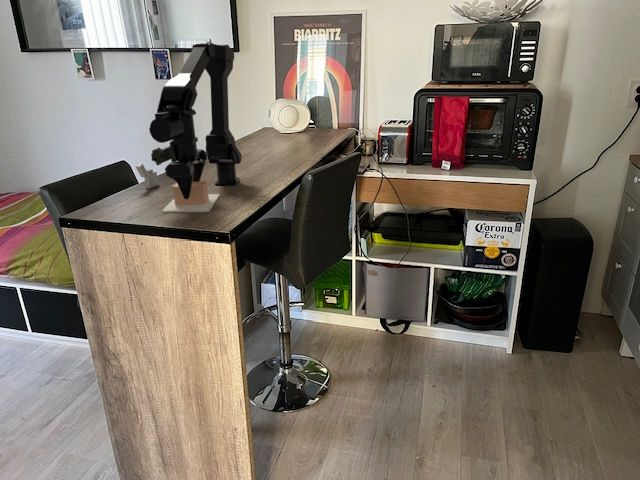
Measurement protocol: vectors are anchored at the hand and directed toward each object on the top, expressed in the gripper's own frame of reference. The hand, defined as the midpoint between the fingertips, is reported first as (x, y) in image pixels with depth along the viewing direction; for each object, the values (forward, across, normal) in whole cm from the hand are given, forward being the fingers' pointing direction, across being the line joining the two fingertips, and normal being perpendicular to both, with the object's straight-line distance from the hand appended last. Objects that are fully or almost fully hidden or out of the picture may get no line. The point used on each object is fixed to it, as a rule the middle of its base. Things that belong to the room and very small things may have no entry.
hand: (191, 193), depth 134 cm
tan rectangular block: (+2, 0, 0) cm, 2 cm away
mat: (+3, 0, 0) cm, 3 cm away
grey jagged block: (+3, -17, -18) cm, 25 cm away
